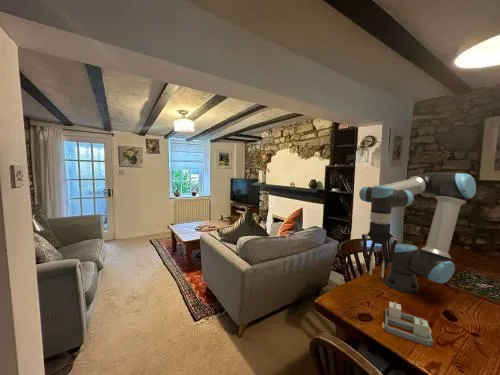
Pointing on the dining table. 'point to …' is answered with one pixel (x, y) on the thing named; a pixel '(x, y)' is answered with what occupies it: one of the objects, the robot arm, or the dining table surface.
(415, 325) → the sage tab
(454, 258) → the dining table surface
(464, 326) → the dining table surface
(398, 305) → the ivory tab
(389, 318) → the switch bank
